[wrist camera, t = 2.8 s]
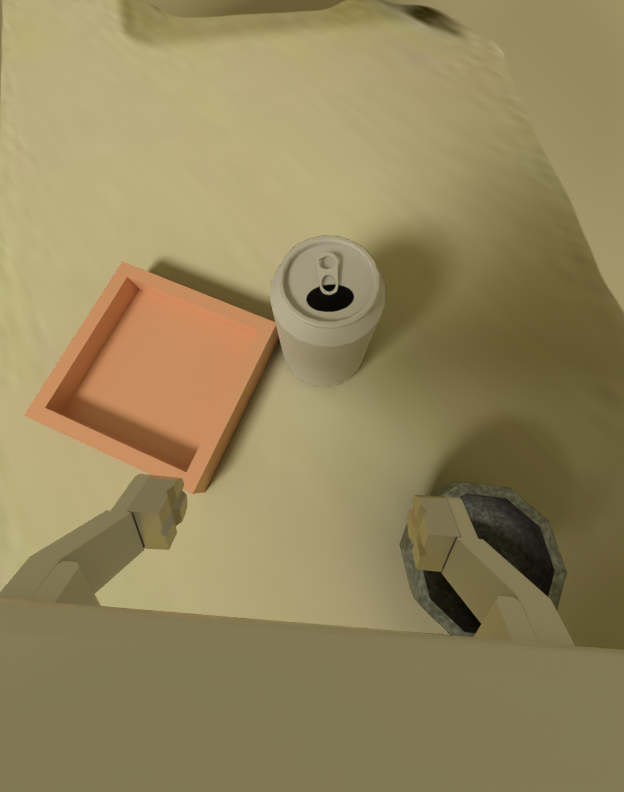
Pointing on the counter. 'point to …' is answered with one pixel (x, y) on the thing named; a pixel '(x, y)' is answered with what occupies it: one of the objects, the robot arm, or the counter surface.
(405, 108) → the counter surface
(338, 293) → the can
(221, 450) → the dish
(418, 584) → the mortar and pestle
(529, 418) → the counter surface
